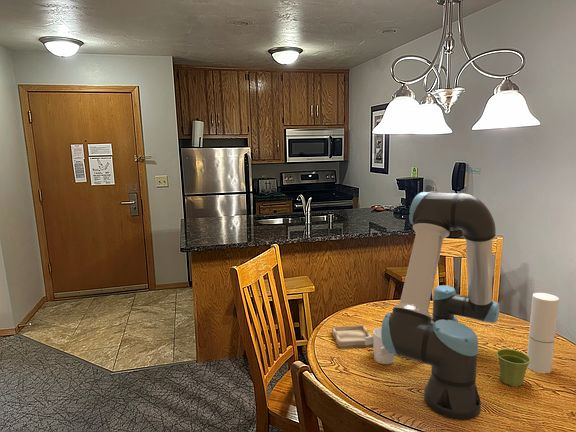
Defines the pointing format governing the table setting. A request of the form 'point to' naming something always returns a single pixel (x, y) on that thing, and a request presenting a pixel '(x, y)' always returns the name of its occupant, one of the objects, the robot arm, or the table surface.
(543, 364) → the cylindrical container
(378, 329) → the white cup
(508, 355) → the plant pot
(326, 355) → the table surface
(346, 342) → the birch tray
